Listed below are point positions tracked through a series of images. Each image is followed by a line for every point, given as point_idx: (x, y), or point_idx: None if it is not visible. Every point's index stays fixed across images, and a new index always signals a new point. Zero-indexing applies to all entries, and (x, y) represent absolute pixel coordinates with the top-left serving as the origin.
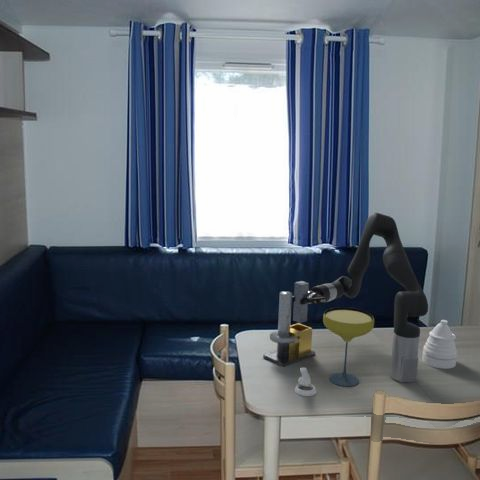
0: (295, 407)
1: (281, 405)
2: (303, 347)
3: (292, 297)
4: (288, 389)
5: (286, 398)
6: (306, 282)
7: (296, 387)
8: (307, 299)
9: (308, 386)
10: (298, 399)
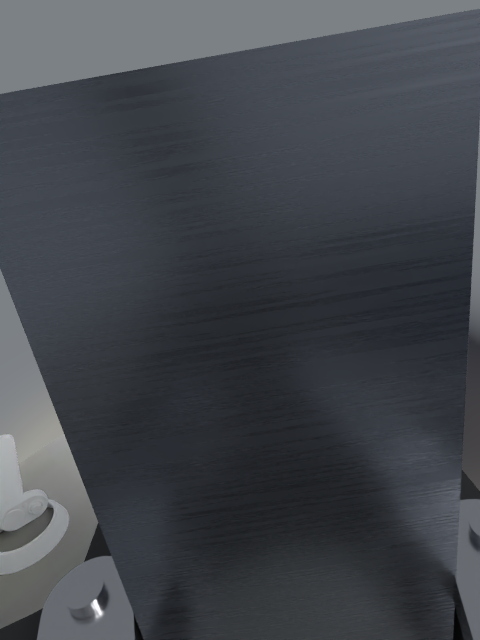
0: (26, 463)
1: (64, 444)
2: None
3: None
4: (86, 497)
5: (67, 467)
6: (95, 82)
7: (53, 501)
8: (102, 550)
9: (24, 561)
10: (32, 488)
